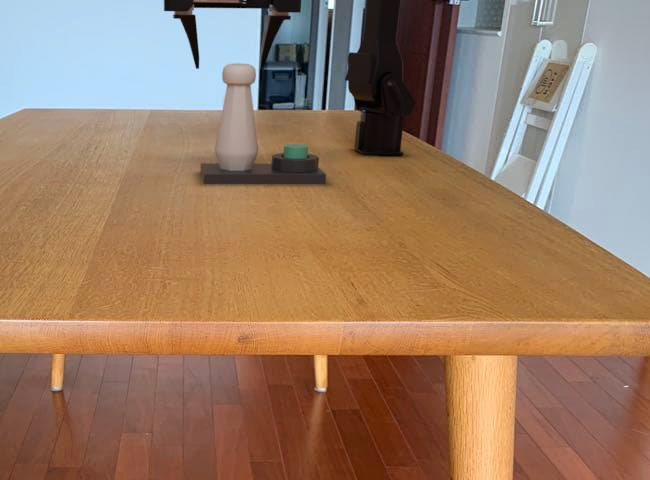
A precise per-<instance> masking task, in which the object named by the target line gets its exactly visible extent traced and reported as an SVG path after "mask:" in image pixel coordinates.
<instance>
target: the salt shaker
mask: <svg viewBox="0 0 650 480" xmlns="http://www.w3.org/2000/svg"><path fill="white" fill-rule="evenodd" d="M221 75H222V76H221V77H222V78H221V79H222V82H223V83H224V84H226V87H225V88H226V89H225V94H224V100H223V105H222V110H221V114H220V115H221V116H220V121H219V126H218V131H217V135H216V140H215V145H214V153H215V157H216V159H217V163H219V165H220V168H221V169H224V170H229V171H245V170H249V169H251V168H252V166H253V163H255V161H256V159H257V157H258V155H259V146H258V145H259V143H258V136H257V127H256V119H255V111H254V103H253V93H252V86H251V85H253V84H254V83H255V82H256V77H257V73H256V68H255V66H253V64H250V63H241V62H239V63H237V62H235V63H228V64H225V66H224V67H223V68H222V72H221Z"/></svg>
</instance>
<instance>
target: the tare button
mask: <svg viewBox="0 0 650 480" xmlns="http://www.w3.org/2000/svg"><path fill="white" fill-rule="evenodd" d="M283 153H284V156H283V157H284V158H292V159H304V158H307V155H308V154H309V145H307V144H303V143H287V144H284V145H283Z"/></svg>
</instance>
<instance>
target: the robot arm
mask: <svg viewBox="0 0 650 480" xmlns="http://www.w3.org/2000/svg"><path fill="white" fill-rule="evenodd" d="M366 2H367V3H366V14H365V24H364V33H363V39H362V42H361V44H360V46H359V48H358V50H357V51H356V52H353V51H350V52H349V53H348V55H347V70H346V71H347V73H346V74H345V78H344V81H347V84H348V92H349V93H350V94H351V96H352V98H353V102H354V106H355V110H356V111H360V119H359V120H357V121H356V125H355V137H354V150H355V151H357V152H359V153H360V155H363V156H403V155H404V152H405V151H402V149H401V147H402V139H403V131H404V123H405V117H406V116H410V115H411V114H412V112H413V110H414V108H415V105H416V100H415V98H414V96H413V95H412V94H411V92H410V91H409V90H408V88H407V87H406V85H405V84H404V61H403V58H402V55H401V52H400V48H399V45H398V41H397V39H398V30H399V29H398V28H399V20H400V13H401V12H400V11H401V3H402V0H367V1H366ZM195 9H257V10H258V9H267V12H268V14H265V15H264V25H263V31H262V39H261V47H260V54H259V69H260V70H264V67H265V65H266V62H267V59H268V57H269V54H270V52H271V48H272V46H273V43H274V41H275V39H276V36H277V35H278V32H279V30H280V28H281V26H282V24H283V23H284V21H290V20H291V19H292V16H291V15H290V13H296V14H298V13H301V12H302V11H301V10H302V0H163V12H173V14H172V18H173V19H174V20H175V19H177V20H180V23H181V25H182V27H183V29H184V31H185V32H184V33H185V35H186V37H187V41H188V44H189V48H190V51H191V55H192V59H193V63H194V67H195V69H196V70H199V69H200V51H199V39H198V38H199V37H198V30H197V16H196V14H193V11H195Z"/></svg>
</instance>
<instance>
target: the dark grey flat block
mask: <svg viewBox="0 0 650 480" xmlns="http://www.w3.org/2000/svg"><path fill="white" fill-rule="evenodd" d="M283 156H284V152H280V153H279V152H278V153H275V154H272V155H271V163H255V162H254V163H253V166H252V168H251V169H249V170H245V171H229V170H224V169H221V168H220V165H219V162H217V163H216V162H214V163H213V162H212V163H210V162H209V163H208V162H207V163H206V162H203V163H202V162H201V163H200V176H201V179H202V181H203V182H202V183H203V184H204V185H326V178H327V173H325V172H324V171H323V169H321V168H320V167H319V162H320V157H319V156H318V155H317V154H311V153H308V155H307V158H304V159H292V158H284V157H283Z"/></svg>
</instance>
